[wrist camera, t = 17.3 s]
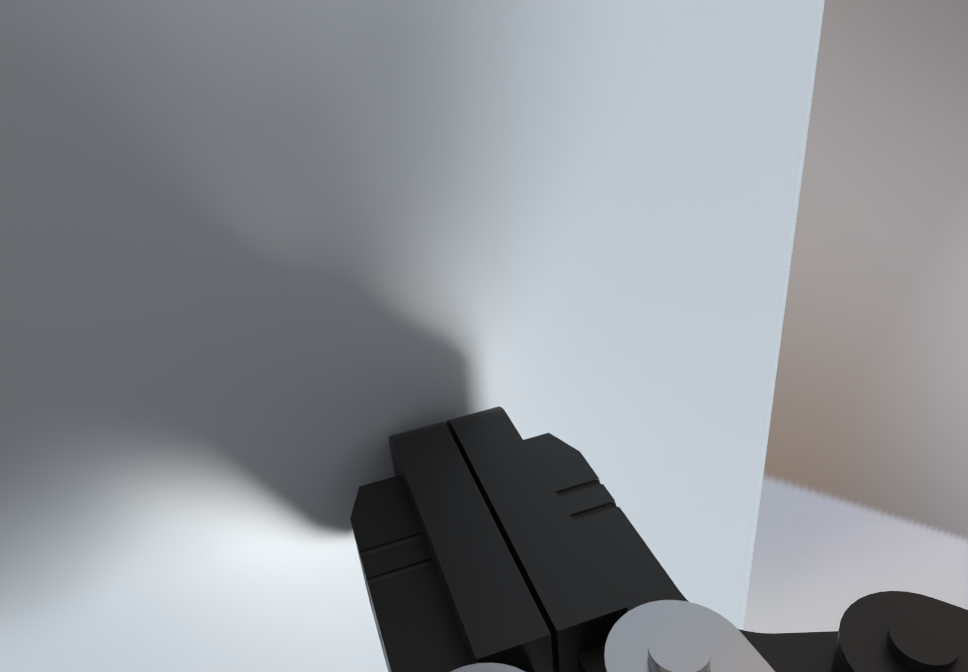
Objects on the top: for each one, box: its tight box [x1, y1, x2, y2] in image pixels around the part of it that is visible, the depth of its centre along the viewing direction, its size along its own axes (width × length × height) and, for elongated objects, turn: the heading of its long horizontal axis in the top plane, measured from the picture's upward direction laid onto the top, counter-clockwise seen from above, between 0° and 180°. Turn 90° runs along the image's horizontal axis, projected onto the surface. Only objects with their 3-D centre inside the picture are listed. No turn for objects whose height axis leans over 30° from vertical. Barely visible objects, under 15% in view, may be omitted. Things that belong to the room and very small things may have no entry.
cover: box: [0, 0, 825, 672], centre depth 11 cm, size 13×24×1 cm, turn 5°
